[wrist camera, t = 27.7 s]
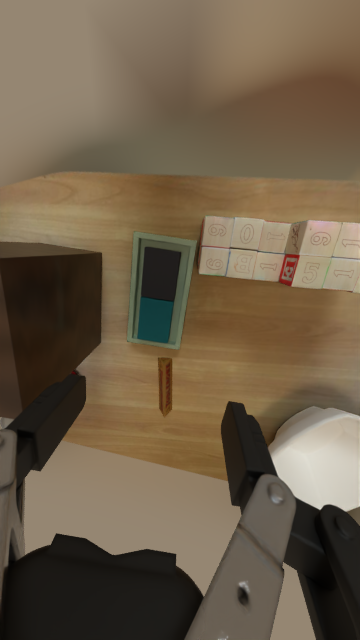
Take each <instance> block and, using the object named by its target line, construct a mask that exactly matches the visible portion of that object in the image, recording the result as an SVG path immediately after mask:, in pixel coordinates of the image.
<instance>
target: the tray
mask: <svg viewBox="0 0 360 640" xmlns="http://www.w3.org/2000/svg"><path fill="white" fill-rule="evenodd" d="M196 245H197V241H194V240H188V239H181V238H175V237H169V236H162V235H156V234H149V233H143V232H137V231H134V236H133V252H132V269H131V285H130V301H129V318H128V334H127V342H133V343H139V344H145V345H152V346H158V347H164V348H170V349H177V350H179V348H180V342H181V336H182V330H183V324H184V318H185V312H186V306H187V300H188V293H189V287H190V281H191V275H192V269H193V263H194V257H195V251H196ZM145 247H153V248H160V249H166V250H172V251H179V252H181V259H180V266H179V274H178V281H177V288H176V295H175V301H174V308H173V315H172V322H171V329H170V336H169V340H168V343H161V342H154V341H148V340H142V339H137V335H138V322H139V309H140V297H141V286H142V273H143V261H144V248H145Z"/></svg>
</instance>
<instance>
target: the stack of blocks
mask: <svg viewBox="0 0 360 640" xmlns="http://www.w3.org/2000/svg"><path fill="white" fill-rule="evenodd" d="M197 266H198V272H199V274H203V275H214V276H225V277H231V278H242V279H253V280H262V281H275V282H277V281H279V282H280V283H283V284H285V285H288V286H291V287H301V288H313V289H331V290H342V291H348V292H351V293H360V223H352V222H332V221H317V220H307V221H302V222H297V223H293V224H292V223H283V222H273V221H264V220H263V219H254V218H243V217H234V218H229V217H218V216H208V215H207V216H205V218H204V219H203V222H202V228H201V237H200V245H199V252H198V261H197Z"/></svg>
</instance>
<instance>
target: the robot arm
mask: <svg viewBox="0 0 360 640" xmlns="http://www.w3.org/2000/svg"><path fill="white" fill-rule="evenodd" d="M85 401H86V378H85V376H82V375H76V374H69V375H68V376H67V377H66V378H65V379H64V380H63V381H62V382H56V383H54V384H52V385H50V386H49V387H47V388H46V389H45V390H44V391H43V392H42V393H41V394H40V395H39V396H38V397H37V398H36V399H35V400H34V401H33V402H32V403H30V404H29V405H28V406H27V407H26V408H25V409H24V410H23V411H22V412H21V413H20V414H19V415H18V416H17V417H16V418H15V419H14V420H13V421H12V422H11V423H10V424H9V425H8V426H7V427H6V428H5V429H1V430H0V640H270V637H271V632H272V628H273V623H274V619H275V615H276V610H277V606H278V602H279V597H280V593H281V589H282V584H283V578H284V569H283V568H282V566H283V562H284V563H286V564H287V565H289V566H291V567H292V568H294V569H295V570H297V573H298V577H299V580H300V584H301V587H302V591H303V594H304V598H305V602H306V605H307V609H308V612H309V615H310V619H311V623H312V626H313V630H314V633H315V637H316V640H360V526H359V525H358V524H357V522H356V521H355V520H354V519H353V518H352V517H351V516H350V515H349V514H348V513H347V512H345V511H344V510H342V509H341V508H339V507H337V506H335V505H331V504H326V505H324V506H323V507H322V508H321V510H319V509H317V508H315V507H313V506H311V505H310V504H308V503H306V502H304V501H302V500H300V499H298V498H297V497H295V496H294V495H293V493H292V491H291V489H290V488H289V487H288V485H287V484H286V483H285V482H284V481H283V480H281V479H280V478H279V477H278V474H277V472H276V469H275V466H274V463H273V461H272V458H271V455H270V453H269V450H268V447H267V444H266V443H265V439H264V436H263V435H262V431H261V428H260V425H259V423H258V422H257V421H256V420H255V418H254V417H253V416H252V415H247V413H246V410H245V407H244V405H243V404H242V403H237V402H231V401H229V402H228V404H227V407H226V410H225V413H224V417H223V420H222V424H221V436H222V443H223V449H224V456H225V463H226V470H227V476H228V483H229V490H230V496H231V503H232V505H234V506H240V509H241V515H242V516H241V518H240V520H239V523H238V525H237V527H236V529H235V531H234V533H233V536H232V538H231V540H230V542H229V544H228V546H227V549H226V551H225V553H224V555H223V557H222V560H221V562H220V564H219V566H218V568H217V570H216V573H215V575H214V577H213V579H212V581H211V583H210V585H209V588H208V590H207V592H206V594H205V596H204V597H203V595H202V593H201V591H200V590H199V588H198V587H197V585H196V584H195V583H194V581H193V580H192V579H191V578H190V577H189V576H188V574H186V573H185V572H184V571H183V570H182V569H180V568H179V567H177V566H176V554H173V553H167V552H161V551H155V550H150V549H144V550H139V551H134V552H129V553H125V554H120V555H111V554H109V553H108V552H106V551H105V550H103V549H102V548H100V547H98V546H97V545H95V544H94V543H92V542H90V541H89V540H87V539H85V538H79V537H74V536H68V535H62V534H56V535H55V537H54V539H53V541H52V544H51V545H48V546H44V547H41V548H38V549H36V550H34V551H32V552H30V553H28V554H26V555H25V543H24V500H25V477H26V476H27V474H28V473H29V472H30V470H36V471H41V470H42V468H43V467H44V465H45V464H46V462H47V461H48V459H49V458H50V456H51V455H52V453H53V452H54V450H55V449H56V448H57V446H58V445H59V443H60V442H61V440H62V439H63V437H64V436H65V434H66V433H67V431H68V430H69V428H70V427H71V425H72V424H73V422H74V421H75V419H76V418H77V416H78V415H79V413H80V412H81V410H82V409H83V407H84V404H85Z"/></svg>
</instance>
